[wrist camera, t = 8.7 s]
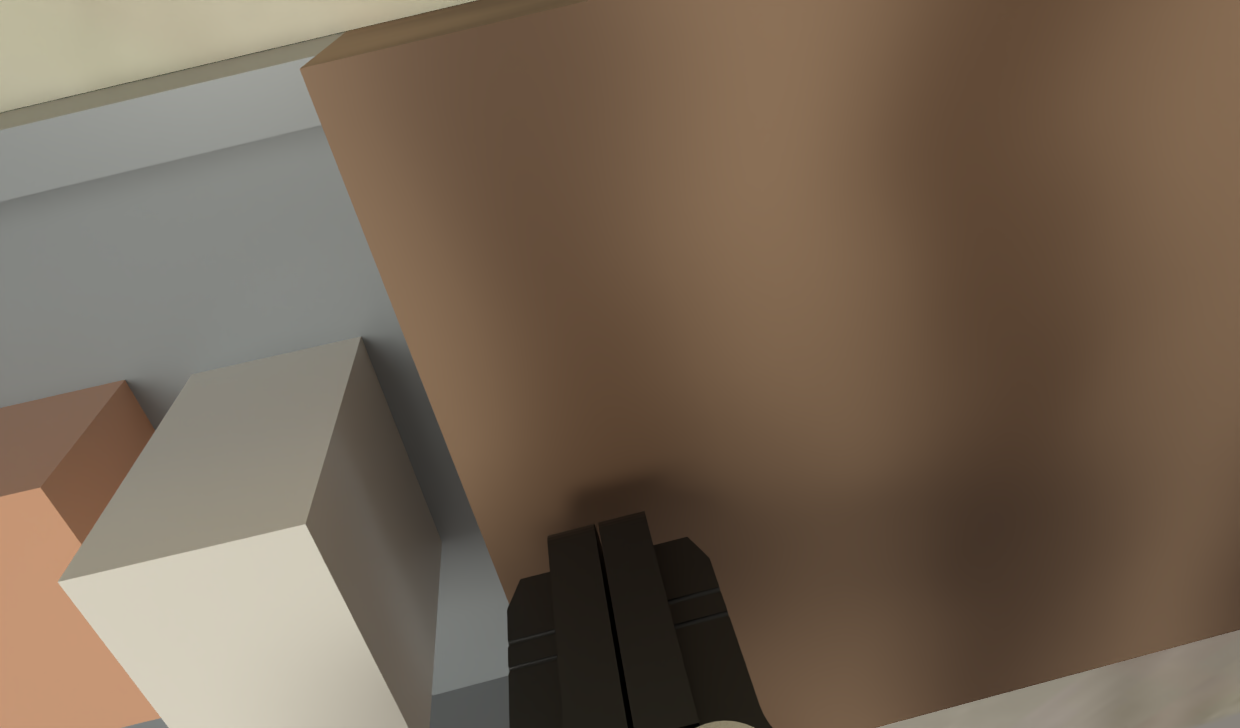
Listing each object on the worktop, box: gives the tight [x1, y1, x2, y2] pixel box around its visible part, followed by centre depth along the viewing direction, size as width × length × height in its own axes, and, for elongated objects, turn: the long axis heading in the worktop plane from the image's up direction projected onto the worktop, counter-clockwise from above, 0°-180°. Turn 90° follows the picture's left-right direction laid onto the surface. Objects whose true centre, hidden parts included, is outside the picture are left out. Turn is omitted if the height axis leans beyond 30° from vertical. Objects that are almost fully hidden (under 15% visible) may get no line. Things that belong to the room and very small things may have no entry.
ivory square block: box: [58, 337, 442, 728], centre depth 13 cm, size 5×5×3 cm
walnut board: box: [300, 0, 1240, 728], centre depth 14 cm, size 18×15×4 cm
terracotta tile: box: [0, 380, 161, 728], centre depth 13 cm, size 5×5×3 cm
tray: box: [0, 32, 509, 728], centre depth 13 cm, size 16×15×4 cm
